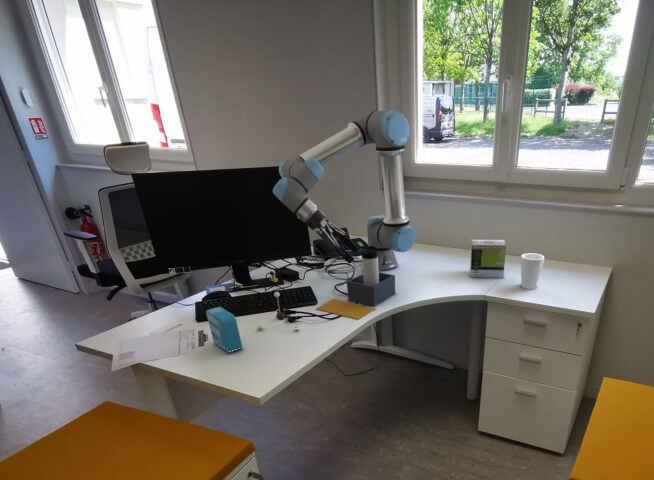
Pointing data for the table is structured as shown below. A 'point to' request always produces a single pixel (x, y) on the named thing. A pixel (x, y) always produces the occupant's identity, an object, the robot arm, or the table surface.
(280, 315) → the molecular model
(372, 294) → the bin
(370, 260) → the travel mug
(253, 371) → the table surface
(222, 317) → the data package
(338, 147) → the robot arm
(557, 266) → the table surface
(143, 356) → the table surface
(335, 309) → the desk mat
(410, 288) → the table surface
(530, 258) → the foam cup
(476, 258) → the tea box
